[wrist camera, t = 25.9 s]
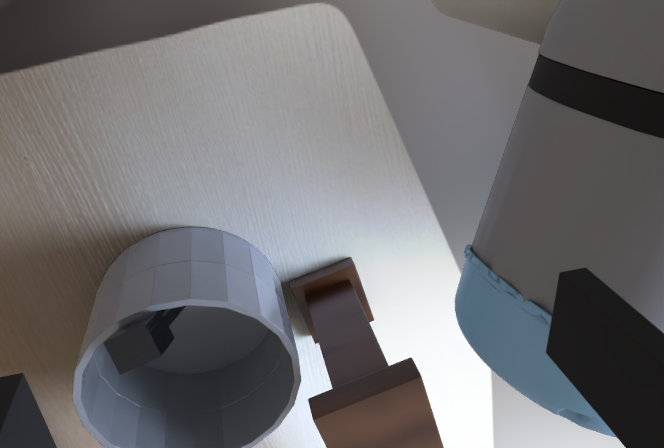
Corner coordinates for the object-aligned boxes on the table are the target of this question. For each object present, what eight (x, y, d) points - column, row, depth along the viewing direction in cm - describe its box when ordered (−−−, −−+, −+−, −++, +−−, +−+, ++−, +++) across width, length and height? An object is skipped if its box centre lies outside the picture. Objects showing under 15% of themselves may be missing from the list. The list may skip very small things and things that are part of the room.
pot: (271, 213, 52) (289, 281, 42) (289, 355, 61) (308, 440, 51) (74, 243, 49) (41, 324, 39) (122, 388, 58) (106, 486, 48)
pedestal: (377, 317, 61) (452, 476, 43) (311, 343, 61) (360, 514, 43) (347, 232, 55) (421, 376, 37) (274, 260, 55) (312, 419, 37)
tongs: (161, 356, 38) (144, 323, 37) (119, 375, 38) (102, 342, 37) (204, 299, 53) (193, 275, 53) (175, 312, 53) (163, 288, 53)
